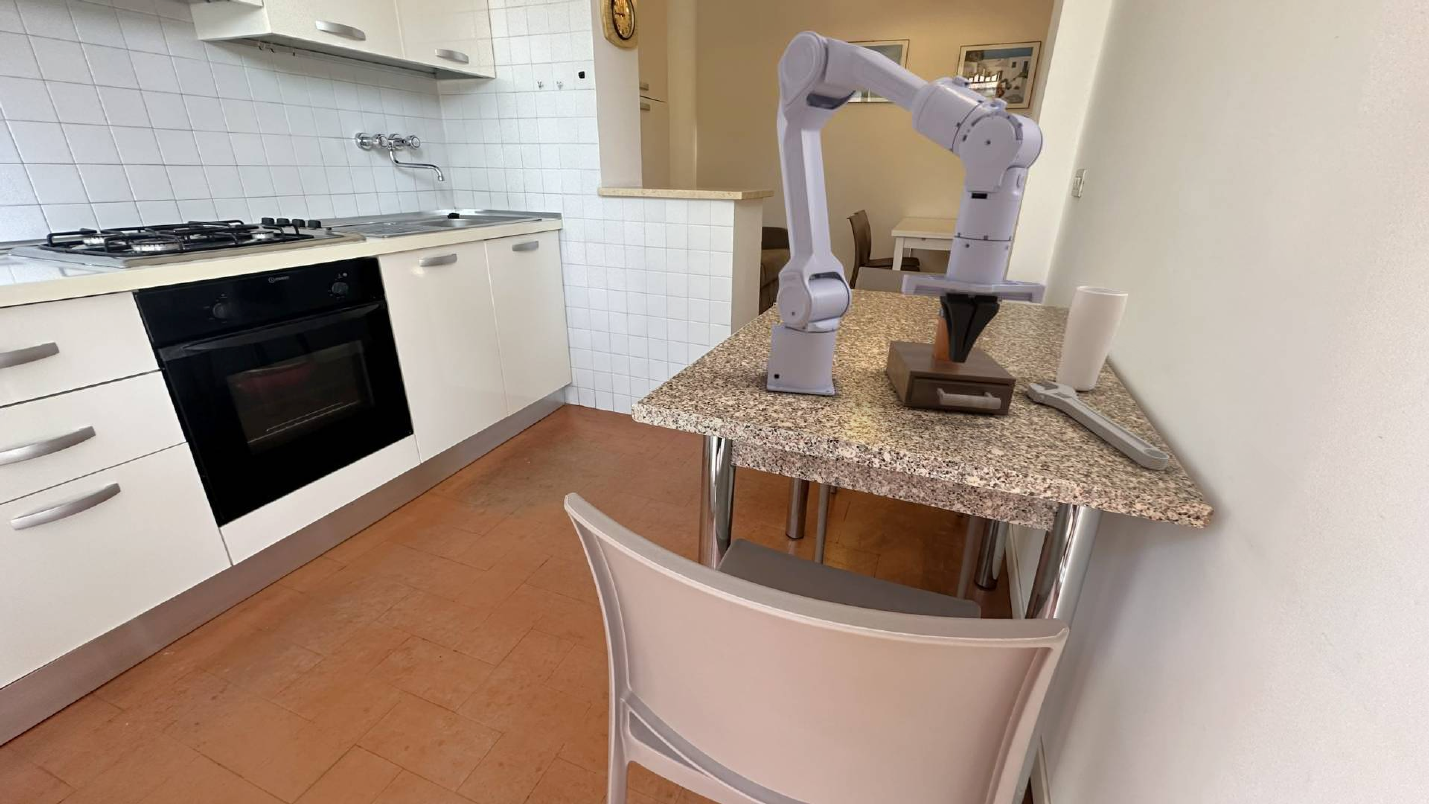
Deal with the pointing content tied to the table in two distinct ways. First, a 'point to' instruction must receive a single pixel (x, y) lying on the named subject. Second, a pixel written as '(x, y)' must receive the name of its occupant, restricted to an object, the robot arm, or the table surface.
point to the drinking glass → (1089, 335)
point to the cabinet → (941, 370)
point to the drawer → (961, 394)
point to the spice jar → (941, 339)
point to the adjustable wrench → (1098, 424)
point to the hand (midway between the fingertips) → (956, 360)
